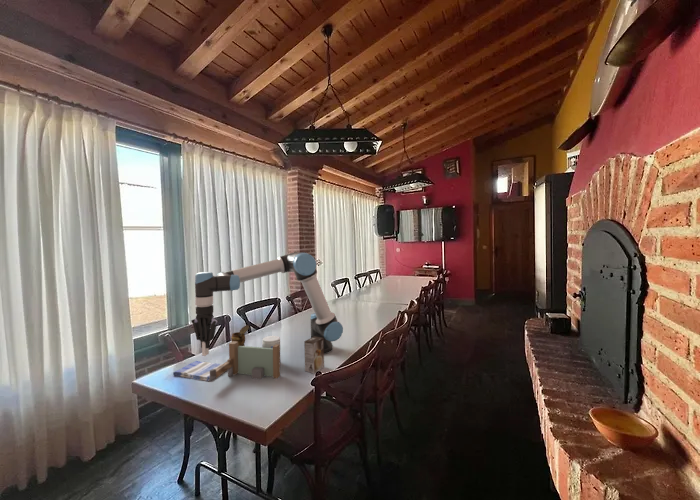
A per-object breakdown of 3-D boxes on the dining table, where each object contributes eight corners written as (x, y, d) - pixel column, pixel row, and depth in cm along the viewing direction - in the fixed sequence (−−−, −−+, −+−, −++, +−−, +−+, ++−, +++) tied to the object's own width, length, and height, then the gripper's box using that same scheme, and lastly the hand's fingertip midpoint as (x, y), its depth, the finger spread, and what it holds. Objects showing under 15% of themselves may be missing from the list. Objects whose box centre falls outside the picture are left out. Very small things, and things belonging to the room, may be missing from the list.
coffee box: (314, 364, 166) (314, 335, 166) (324, 367, 163) (324, 337, 162) (304, 371, 158) (304, 340, 158) (314, 373, 155) (314, 343, 154)
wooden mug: (241, 357, 177) (240, 326, 176) (226, 352, 185) (225, 323, 184) (253, 352, 185) (252, 323, 184) (239, 348, 192) (238, 319, 191)
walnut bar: (229, 365, 155) (229, 357, 154) (233, 365, 154) (233, 357, 154) (208, 379, 139) (208, 371, 139) (213, 380, 138) (213, 371, 138)
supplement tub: (274, 369, 161) (274, 342, 160) (259, 367, 163) (258, 340, 163) (283, 362, 170) (283, 336, 169) (269, 360, 173) (268, 334, 172)
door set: (280, 375, 154) (279, 344, 153) (274, 381, 147) (273, 349, 147) (233, 371, 159) (232, 341, 158) (226, 376, 152) (225, 345, 152)
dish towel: (209, 382, 148) (209, 377, 147) (171, 376, 154) (171, 371, 154) (233, 368, 164) (232, 362, 164) (197, 363, 171) (197, 358, 171)
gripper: (221, 304, 145) (222, 352, 146) (197, 302, 147) (198, 350, 148) (211, 307, 137) (212, 358, 138) (186, 306, 140) (187, 356, 141)
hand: (205, 354), depth 143 cm, fingers closed
